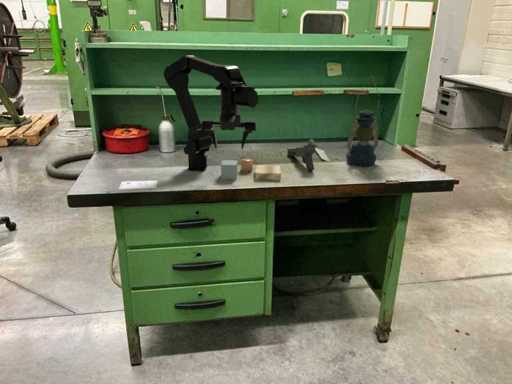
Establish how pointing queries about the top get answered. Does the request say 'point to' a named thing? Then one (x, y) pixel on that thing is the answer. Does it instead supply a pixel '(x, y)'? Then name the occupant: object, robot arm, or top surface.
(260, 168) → the beech slab
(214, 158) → the top surface
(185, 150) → the robot arm
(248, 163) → the orange-tan rounded lump
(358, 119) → the lantern
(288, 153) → the handgun
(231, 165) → the blue-grey cube
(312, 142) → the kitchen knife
